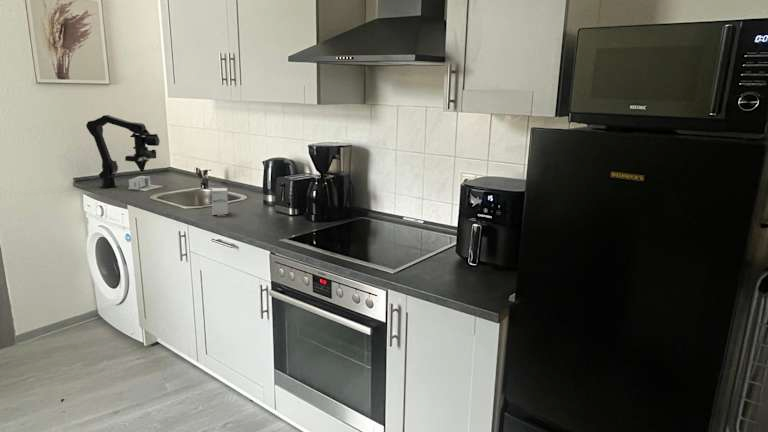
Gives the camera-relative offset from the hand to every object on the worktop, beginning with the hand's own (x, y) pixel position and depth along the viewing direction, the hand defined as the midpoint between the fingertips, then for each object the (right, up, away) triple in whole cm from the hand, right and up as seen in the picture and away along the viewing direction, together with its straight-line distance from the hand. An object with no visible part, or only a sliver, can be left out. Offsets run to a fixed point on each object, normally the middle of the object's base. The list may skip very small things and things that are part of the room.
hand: (142, 171), depth 305 cm
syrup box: (-3, -8, -4) cm, 10 cm away
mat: (0, -9, +4) cm, 10 cm away
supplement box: (+62, -25, -49) cm, 83 cm away
